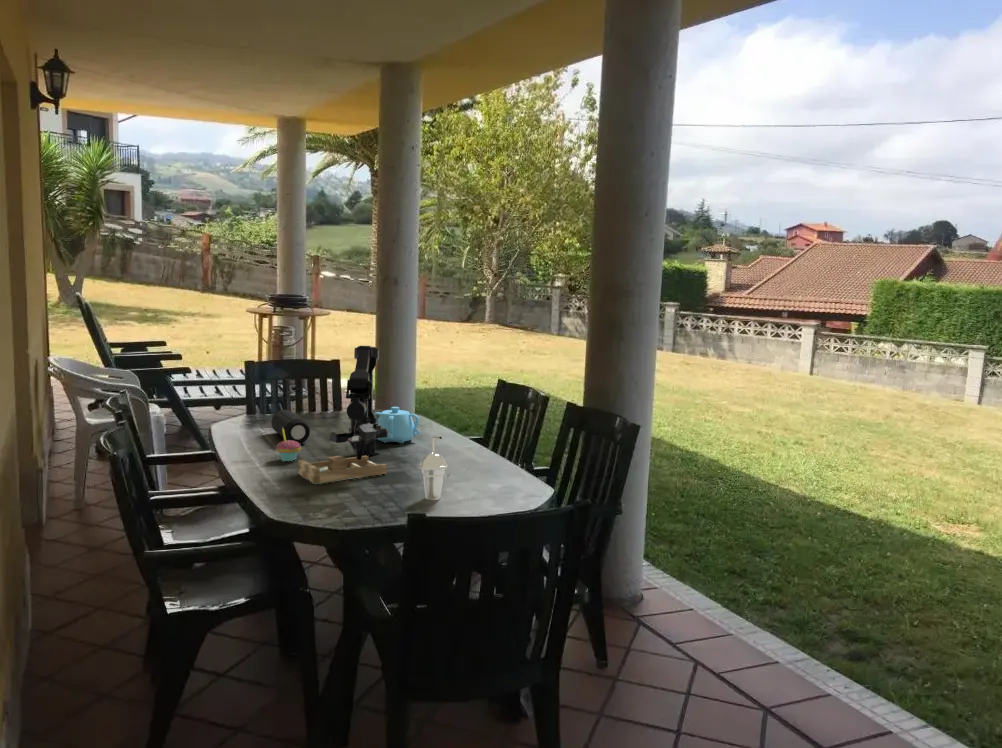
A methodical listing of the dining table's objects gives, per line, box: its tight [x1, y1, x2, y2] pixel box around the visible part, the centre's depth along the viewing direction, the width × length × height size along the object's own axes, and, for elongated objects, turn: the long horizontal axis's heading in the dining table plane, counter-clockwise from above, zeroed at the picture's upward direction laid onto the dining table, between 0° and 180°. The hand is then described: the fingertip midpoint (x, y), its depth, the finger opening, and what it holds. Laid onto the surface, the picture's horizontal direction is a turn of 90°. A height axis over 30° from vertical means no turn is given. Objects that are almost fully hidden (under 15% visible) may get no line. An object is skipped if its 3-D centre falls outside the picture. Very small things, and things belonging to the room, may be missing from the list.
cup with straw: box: [418, 435, 448, 501], centre depth 239 cm, size 8×9×20 cm
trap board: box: [297, 455, 387, 483], centre depth 264 cm, size 14×25×5 cm, turn 126°
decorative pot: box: [374, 406, 421, 445], centre depth 315 cm, size 16×16×14 cm
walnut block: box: [327, 455, 347, 471], centre depth 262 cm, size 4×4×4 cm
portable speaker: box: [271, 409, 311, 444], centre depth 314 cm, size 26×10×10 cm, turn 29°
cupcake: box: [275, 427, 302, 462], centre depth 280 cm, size 9×8×12 cm
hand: (359, 459), depth 267 cm, fingers closed
